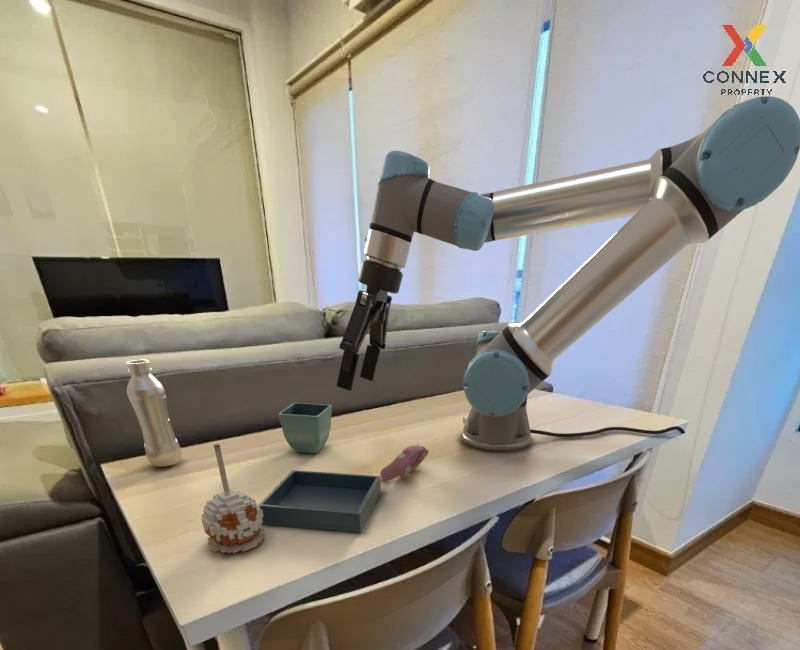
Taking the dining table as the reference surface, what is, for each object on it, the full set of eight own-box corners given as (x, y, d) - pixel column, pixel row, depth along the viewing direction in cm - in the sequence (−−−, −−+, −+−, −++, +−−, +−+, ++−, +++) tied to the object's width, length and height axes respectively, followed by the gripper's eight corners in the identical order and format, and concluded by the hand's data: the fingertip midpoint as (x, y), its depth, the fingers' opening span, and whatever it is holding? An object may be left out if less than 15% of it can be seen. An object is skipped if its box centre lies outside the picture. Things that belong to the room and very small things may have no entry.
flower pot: (322, 458, 97) (318, 415, 92) (282, 455, 98) (277, 413, 94) (335, 444, 104) (332, 404, 99) (298, 441, 106) (294, 402, 101)
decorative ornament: (225, 562, 63) (200, 459, 56) (200, 541, 68) (174, 444, 60) (274, 541, 68) (258, 444, 60) (248, 523, 73) (230, 430, 65)
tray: (380, 493, 82) (380, 476, 80) (360, 533, 70) (359, 513, 68) (294, 486, 84) (292, 469, 83) (260, 524, 72) (257, 505, 71)
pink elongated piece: (395, 491, 86) (409, 463, 81) (376, 477, 87) (390, 448, 82) (421, 473, 93) (436, 447, 88) (404, 460, 94) (418, 433, 89)
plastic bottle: (191, 460, 96) (165, 359, 86) (167, 472, 91) (137, 366, 80) (166, 456, 98) (138, 357, 88) (141, 468, 92) (108, 364, 82)
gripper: (383, 263, 92) (358, 369, 102) (338, 249, 71) (312, 385, 81) (418, 275, 92) (389, 381, 102) (384, 264, 70) (352, 400, 80)
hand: (355, 383), depth 91 cm, fingers open, 13 cm apart
